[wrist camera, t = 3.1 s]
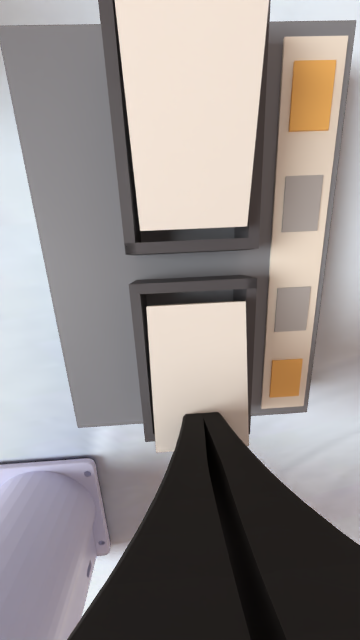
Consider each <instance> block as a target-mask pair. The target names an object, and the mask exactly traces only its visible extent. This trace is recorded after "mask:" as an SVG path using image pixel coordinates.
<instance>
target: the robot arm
mask: <svg viewBox="0 0 360 640" xmlns="http://www.w3.org/2000/svg"><path fill="white" fill-rule="evenodd" d="M88 471H89V472H88ZM110 546H111V545H110V540H109V535H108V529H107V524H106V518H105V513H104V508H103V502H102V497H101V492H100V486H99V481H98V476H97V470H96V465H95V462H94V461H93V460H92V459H89V458H85V459H71V460H58V461H44V462H30V463H17V464H3V465H0V640H360V545H358V544H357V543H356V542H354V541H353V540H352V539H350V538H349V537H347V536H346V535H345V534H343V533H342V532H341V531H339V530H338V529H337V528H336V527H334V526H333V525H332V524H331V523H329V522H328V521H327V520H326V519H324V518H323V517H322V516H321V515H319V514H318V513H317V512H316V511H314V510H313V509H312V508H311V507H309V506H308V505H307V504H306V503H304V502H303V501H302V500H301V499H300V498H299V497H298V496H296V495H295V494H294V493H293V492H292V491H291V490H290V489H288V488H287V487H286V486H285V485H284V484H283V483H282V482H281V481H280V480H279V479H278V478H277V477H276V476H275V475H274V474H272V473H271V472H270V471H269V470H268V469H267V468H266V467H265V466H264V465H263V463H262V462H261V461H260V460H259V459H258V458H257V457H256V456H255V455H254V454H253V453H252V452H251V451H250V450H249V448H248V447H247V446H246V445H245V444H244V443H243V441H242V440H241V439H240V438H239V437H238V436H237V434H236V433H235V432H234V431H233V429H232V428H231V427H230V426H229V424H228V423H227V422H226V420H225V419H224V418H223V416H222V415H221V414H220V413H219V412H210V413H195V414H185V415H184V416H183V419H182V425H181V429H180V433H179V437H178V440H177V443H176V447H175V450H174V453H173V455H172V458H171V461H170V463H169V466H168V469H167V471H166V473H165V476H164V478H163V480H162V483H161V485H160V487H159V489H158V491H157V493H156V496H155V498H154V500H153V502H152V503H151V505H150V507H149V509H148V511H147V513H146V515H145V517H144V519H143V521H142V523H141V524H140V526H139V528H138V530H137V532H136V533H135V535H134V537H133V538H132V540H131V542H130V543H129V545H128V547H127V548H126V550H125V552H124V553H123V555H122V557H121V558H120V560H119V562H118V563H117V565H116V567H115V568H114V570H113V571H112V573H111V575H110V576H109V578H108V579H107V581H106V582H105V584H104V585H103V587H102V588H101V590H100V591H99V593H98V594H97V596H96V597H95V599H94V600H93V602H92V603H91V605H90V606H89V608H88V609H87V611H86V612H85V613H84V615H83V616H82V613H83V609H84V605H85V601H86V597H87V593H88V589H89V585H90V581H91V577H92V573H93V568H94V564H95V560H96V556H102V555H107V554H108V553H109V551H110ZM81 617H82V618H81Z"/></svg>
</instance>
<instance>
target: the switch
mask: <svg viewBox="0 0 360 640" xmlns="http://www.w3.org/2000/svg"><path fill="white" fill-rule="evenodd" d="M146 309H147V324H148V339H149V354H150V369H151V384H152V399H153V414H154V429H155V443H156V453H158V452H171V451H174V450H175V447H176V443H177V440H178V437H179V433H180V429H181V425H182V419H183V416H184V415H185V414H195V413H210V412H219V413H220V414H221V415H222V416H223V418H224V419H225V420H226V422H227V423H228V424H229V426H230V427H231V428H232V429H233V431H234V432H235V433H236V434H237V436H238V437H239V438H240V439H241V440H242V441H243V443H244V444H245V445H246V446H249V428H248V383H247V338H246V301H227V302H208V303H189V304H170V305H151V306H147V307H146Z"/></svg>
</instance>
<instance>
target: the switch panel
mask: <svg viewBox="0 0 360 640" xmlns="http://www.w3.org/2000/svg"><path fill="white" fill-rule="evenodd" d="M98 2H99V11H100V21H101V24H84V25H18V26H0V45H1V50H2V55H3V60H4V65H5V70H6V75H7V80H8V84H9V89H10V94H11V99H12V104H13V109H14V114H15V119H16V124H17V129H18V134H19V139H20V144H21V149H22V154H23V159H24V164H25V169H26V174H27V178H28V183H29V188H30V193H31V198H32V203H33V208H34V213H35V218H36V223H37V228H38V233H39V238H40V243H41V248H42V253H43V258H44V263H45V268H46V273H47V277H48V282H49V287H50V292H51V297H52V302H53V307H54V312H55V317H56V322H57V327H58V332H59V337H60V342H61V347H62V352H63V357H64V362H65V367H66V371H67V376H68V381H69V386H70V391H71V396H72V401H73V406H74V411H75V416H76V421H77V426H78V428H83V427H97V426H112V425H127V424H141V423H143V424H144V434H145V442H150V441H155V429H154V414H153V399H152V384H151V369H150V354H149V339H148V324H147V309H146V307H147V306H151V305H170V304H189V303H208V302H227V301H246V338H247V383H248V428H249V434H250V420H251V416H258V415H272V414H287V413H301V412H307V406H308V398H309V391H310V383H311V375H312V367H313V359H314V351H315V343H316V335H317V327H318V319H319V312H320V304H321V296H322V288H323V280H324V272H325V264H326V256H327V248H328V241H329V233H330V225H331V217H332V209H333V201H334V193H335V185H336V177H337V169H338V162H339V154H340V146H341V138H342V130H343V122H344V114H345V106H346V98H347V90H348V83H349V75H350V67H351V59H352V51H353V43H354V35H355V27H356V20H350V21H284V22H269V20H270V0H269V6H268V16H267V27H266V37H265V47H264V58H263V68H262V78H261V89H260V99H259V109H258V120H257V130H256V140H255V150H254V161H253V171H252V181H251V192H250V202H249V212H248V223H247V226H245V227H222V228H198V229H175V230H152V231H140V225H139V216H138V207H137V198H136V189H135V180H134V171H133V162H132V153H131V144H130V135H129V125H128V116H127V107H126V98H125V89H124V80H123V71H122V62H121V53H120V44H119V35H118V26H117V17H116V8H115V0H98Z"/></svg>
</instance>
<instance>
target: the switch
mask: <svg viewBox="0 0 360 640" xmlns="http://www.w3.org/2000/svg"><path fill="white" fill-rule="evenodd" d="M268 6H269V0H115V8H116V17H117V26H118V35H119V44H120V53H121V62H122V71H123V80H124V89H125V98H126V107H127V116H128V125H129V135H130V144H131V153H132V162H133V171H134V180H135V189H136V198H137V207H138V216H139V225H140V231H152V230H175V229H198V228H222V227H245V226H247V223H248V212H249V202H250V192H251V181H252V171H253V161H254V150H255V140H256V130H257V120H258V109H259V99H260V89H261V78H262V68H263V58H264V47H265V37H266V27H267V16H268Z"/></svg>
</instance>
